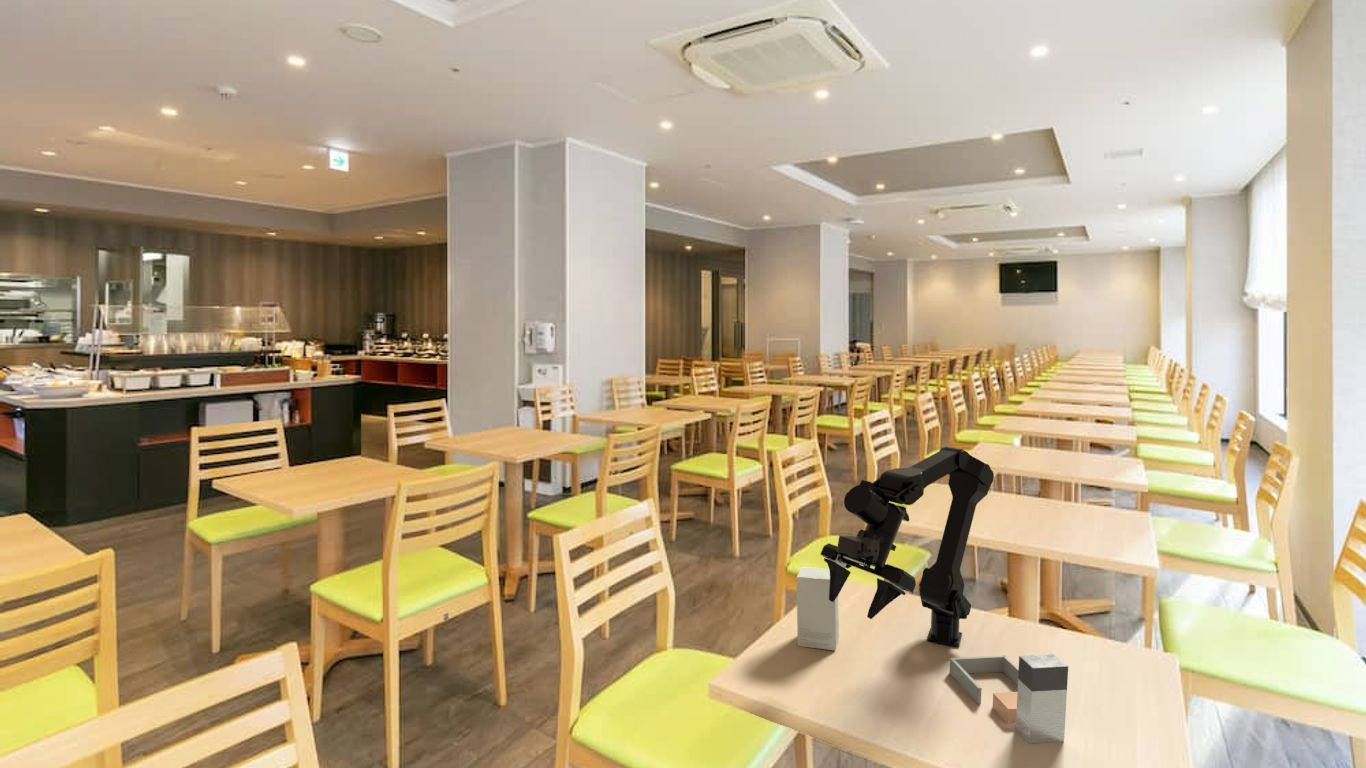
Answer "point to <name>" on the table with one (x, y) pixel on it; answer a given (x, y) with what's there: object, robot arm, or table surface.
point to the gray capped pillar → (1041, 698)
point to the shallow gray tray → (980, 671)
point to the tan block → (1006, 706)
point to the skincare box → (816, 610)
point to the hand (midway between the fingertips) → (849, 609)
